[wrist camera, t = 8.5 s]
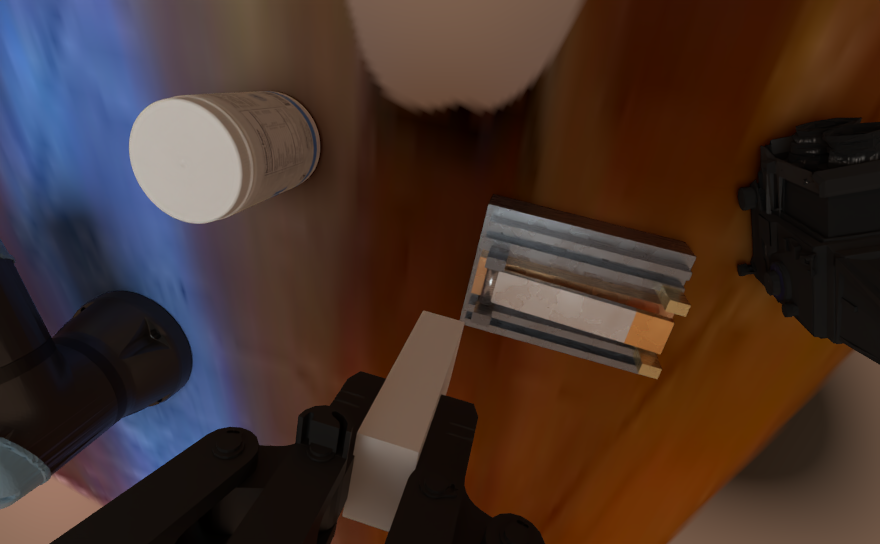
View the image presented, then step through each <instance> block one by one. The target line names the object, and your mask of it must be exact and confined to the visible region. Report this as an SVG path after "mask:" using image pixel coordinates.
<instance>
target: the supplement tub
mask: <svg viewBox="0 0 880 544" xmlns="http://www.w3.org/2000/svg"><path fill="white" fill-rule="evenodd" d="M129 155H130V160H131V165H132V168H133V171H134V174H135V176H136V179H137V181H138V183H139V185H140V186H141V188H142V190H143V191H144V192H145V194H146V195H147V196H148V198H149V199H150V200H151V201H152V202H153V203H154V204H155V205H156V206H157V207H158V208H160V209H161V210H162V211H163V212H165V213H166V214H168V215H170V216H171V217H173V218H176V219H178V220H181V221H184V222H188V223H195V224H202V223H209V222H213V221H216V220H221V219H224V218H227V217H229V216H232V215H234V214H236V213H239V212H241V211H243V210H245V209H247V208H249V207H252V206H254V205H256V204H258V203H260V202H263V201H265V200H267V199H269V198H272V197H274V196H276V195H278V194H281V193H283V192H285V191H288V190H290V189H292V188H294V187H296V186H298V185H300V184H301V183H303V182H304V181H305V180H307V179H308V178H309V177H310V175H311V174H312V173H313V171H314V170H315V168H316V166H317V163H318V160H319V156H320V137H319V133H318V130H317V127H316V124H315V122H314V120H313V118H312V117H311V115H310V114H309V112H308V111H307V110H306V109H305V108H304V107H303V106H302V105H301V104H300V103H299V102H298V101H296V100H295V99H293V98H292V97H290V96H288V95H286V94H283V93H279V92H274V91H255V92H234V93H214V94H197V95H182V96H175V97H171V98H168V99H163V100H159V101H156V102H154V103H152V104H150V105H149V106H147V107H146V108H145V109H144V110H143V111H142V112H141V113H140V114H139V116H138V117H137V119H136V120H135V122H134V125H133V127H132V130H131V134H130V140H129Z"/></svg>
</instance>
